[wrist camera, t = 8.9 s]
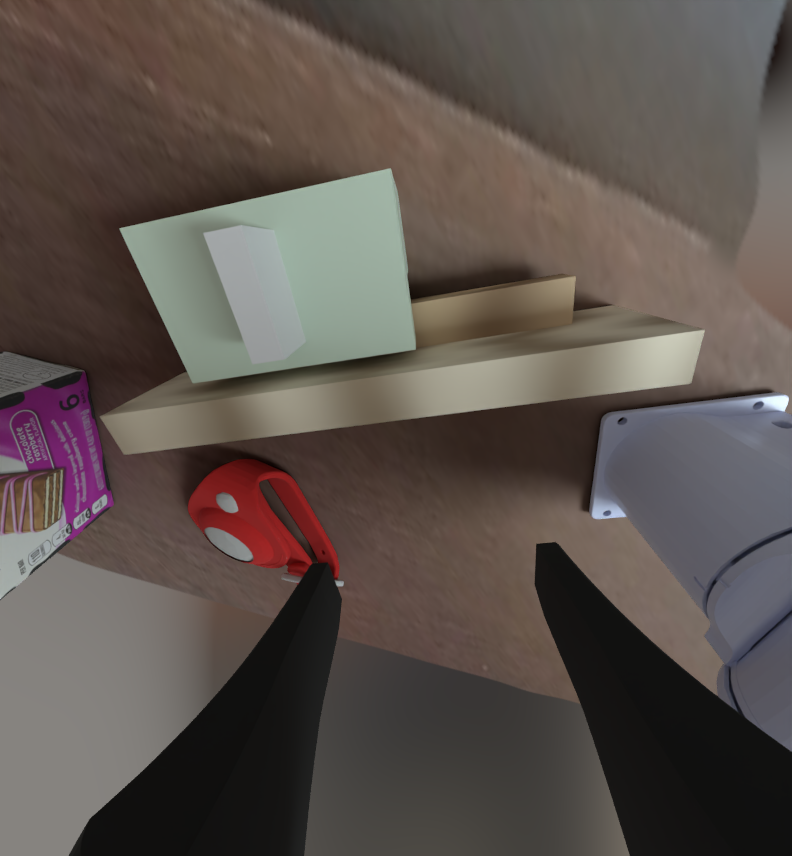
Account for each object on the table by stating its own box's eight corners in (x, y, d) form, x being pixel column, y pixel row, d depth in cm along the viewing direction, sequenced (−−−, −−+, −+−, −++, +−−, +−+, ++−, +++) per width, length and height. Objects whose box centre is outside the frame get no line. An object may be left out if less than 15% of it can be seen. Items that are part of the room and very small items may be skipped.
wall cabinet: (397, 192, 15) (384, 146, 9) (415, 325, 18) (416, 368, 11) (198, 234, 16) (52, 223, 10) (243, 353, 19) (153, 406, 13)
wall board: (619, 261, 16) (721, 266, 11) (608, 344, 18) (691, 383, 12) (168, 338, 19) (71, 372, 14) (198, 402, 21) (124, 454, 15)
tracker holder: (189, 553, 26) (150, 473, 19) (229, 510, 29) (206, 428, 23) (329, 619, 24) (338, 557, 18) (354, 565, 28) (370, 495, 21)
